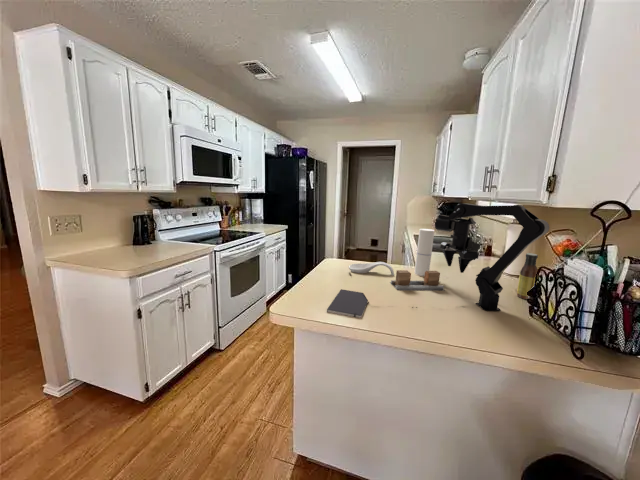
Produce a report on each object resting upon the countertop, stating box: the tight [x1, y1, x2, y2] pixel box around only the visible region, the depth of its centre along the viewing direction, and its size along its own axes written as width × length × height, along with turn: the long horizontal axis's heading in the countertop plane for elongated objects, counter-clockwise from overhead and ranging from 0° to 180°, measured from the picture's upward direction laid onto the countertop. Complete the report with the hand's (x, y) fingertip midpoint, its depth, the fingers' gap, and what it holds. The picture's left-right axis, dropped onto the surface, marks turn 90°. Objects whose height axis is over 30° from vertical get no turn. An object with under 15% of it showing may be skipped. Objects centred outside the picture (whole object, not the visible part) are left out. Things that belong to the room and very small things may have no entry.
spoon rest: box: [348, 261, 395, 276], centre depth 145 cm, size 24×12×7 cm, turn 76°
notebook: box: [326, 289, 369, 319], centre depth 108 cm, size 13×2×21 cm
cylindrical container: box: [414, 228, 436, 277], centre depth 143 cm, size 7×7×25 cm
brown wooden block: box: [423, 270, 441, 285], centre depth 126 cm, size 3×6×7 cm, turn 96°
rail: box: [389, 279, 446, 292], centre depth 126 cm, size 10×22×3 cm, turn 96°
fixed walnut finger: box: [395, 269, 412, 285], centre depth 125 cm, size 3×6×7 cm, turn 96°
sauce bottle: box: [516, 252, 539, 300], centre depth 121 cm, size 6×6×20 cm
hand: (455, 269), depth 119 cm, fingers open, 9 cm apart
